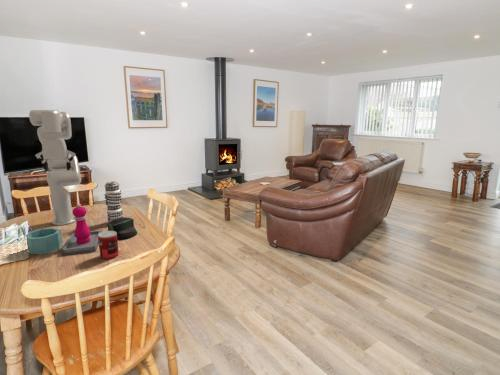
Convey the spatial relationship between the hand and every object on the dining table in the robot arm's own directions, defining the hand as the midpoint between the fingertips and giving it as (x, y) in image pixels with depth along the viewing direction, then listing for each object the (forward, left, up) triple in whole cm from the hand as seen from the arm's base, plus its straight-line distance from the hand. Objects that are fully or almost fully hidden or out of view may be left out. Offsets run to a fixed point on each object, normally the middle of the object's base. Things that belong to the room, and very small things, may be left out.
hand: (58, 170), depth 154 cm
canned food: (+30, +24, -36) cm, 53 cm away
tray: (+12, +10, -36) cm, 40 cm away
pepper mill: (+12, +10, -35) cm, 38 cm away
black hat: (+4, +27, -37) cm, 46 cm away
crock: (+12, -7, -36) cm, 39 cm away
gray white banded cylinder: (-18, +22, -36) cm, 46 cm away
